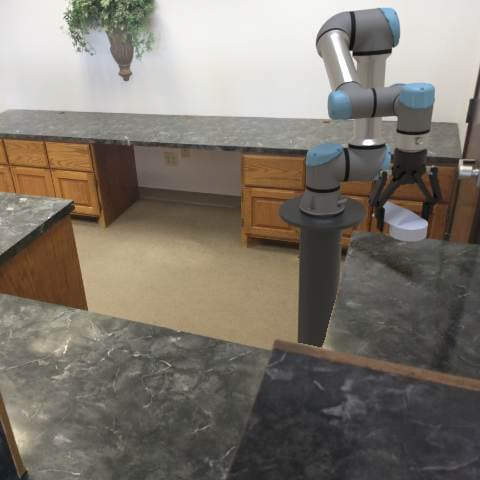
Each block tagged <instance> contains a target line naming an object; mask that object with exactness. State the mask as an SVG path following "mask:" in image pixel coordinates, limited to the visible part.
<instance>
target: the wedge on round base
mask: <svg viewBox="0 0 480 480" xmlns="http://www.w3.org/2000/svg"><path fill="white" fill-rule="evenodd" d="M383 207H384V208H385V215H384V223H386V224H389V228H388V235H389V236H390V237H392V238H393V239H395V240H398V241H403V242H419V241H422V240H424V239H426V238H427V233H428V227H429V221H428V222H427V221H426V220H425V219H423V218H421V216H419V215H418V214H416V213H415V212H413V211H412V210H410V209H407V208H405V207H402V206H400V205H398V204H396V203H394V202H390V201H387V202H386V203H385V205H384V206H383ZM371 216H372V217H374V213H372V215H371Z"/></svg>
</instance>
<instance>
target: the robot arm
mask: <svg viewBox="0 0 480 480" xmlns="http://www.w3.org/2000/svg"><path fill="white" fill-rule="evenodd" d="M400 22H401V21H400V19H399V15H398V13H397V11H396V10H395V9H394V8H393V7H376V8H375V7H374V8H365V9H357V10H350V11H348V10H347V11H341V12H338V13H335V14H334V15H332V16H331V17H330V18H328V19H327V20H326V21H325V22H324V23H323V24H322V25H321V27H320V28H319V30H318V32H317V34H316V38H315V49H316V52H317V54H318V56H319V57H320V59H322V60H323V64H324V68H325V72H326V74H327V78H328V81H329V85H330V88H331V92H329V94H328V97H327V115H328V117H329V119H330V120H332V121H349V120H353V136H352V137H351V138H350V139H349V140H348V141H347V146H346V147H344V146H343V145H342V144H341V143H339V142H324V143H320V144H316V145H314V146H312V147H310V148H309V149H308V151H307V153H306V157H305V190H304V192H303V197H302V200H301V203H300V211H301V212H302V213H303V214H305V215H307V216H310V217H315V218H330V217H335V216H338V215H340V214H342V213H343V212H344V208H345V204H344V202H346V201H347V198H346V199H343V198H342V196H343V195H342V191H341V183H347V182H350V183H351V182H366V181H367V182H371V181H376V182H375V184H374V186H373V189H372V191H371V194H370V196H369V198H368V200H367V204H368V205H369V206H370V207H371V208H374V213H373V214H374V216H373V217H374V218H375V220H376V229H377V230H378V231H379V232H380V233H381V232H384V224H385V222H384V215H385V208H384V207H383V206H384V205H385V203H386V202H387V201H388V200H390V198H391V197H392V196H393V194H394V193H395V192H396V191H397V189H399V188H400V187H401V186H405V185H416V186H417V188H418V189H419V191H420V192H421V194H422V195H423V197H424V199H425V201H422V207H421V213H420V214H421V215H420V217H421V218H423V219H425V220H426V221H427V222H428V223H429V218H430V216H432V215H433V213H434V207H435V206H436V205H437V203H438V202H439V203H441V202H442V201H443V200H444V199H443V195H442V194H443V193H442V190H441V187H440V182H439V177H438V174H439V168H438V167H437V166H436V165H434V164H429V165H428V166H427V165H426V163H427V158H428V149H427V148H428V147H429V141H430V133H431V125H432V119H433V113H434V104H435V102H436V97H435V96H436V87H435V85H434V84H432V83H430V82H429V83H427V82H410V83H403V82H397V83H392V84H391V85H389V86H385V83H386V82H385V81H386V65H387V60H388V58H389V57H390V56H391V55H392V54H393V49H394V48H396V47H398V45H399V44H400V39H401V23H400ZM353 59H354V60H355V62H356V66H355V63H354V60H353ZM387 117H388V118H389V117H396V119H397V120H396V127H395V128H396V130H395V139H394V147H395V148H394V149H393V156H392V150H391V147H390V146H389V145H388V144H386V142H387V141H386V139H385V138H384V137H382V127H383V118H387ZM392 157H393V159H392ZM391 160H392V167H391V168H390V166H391ZM425 173H426V174H427V175H428V180H429V183H430V188H431V192H432V193H431V192H430V191H429V189H428V187H427V185H426V184H425V181H424V180H423V178H422V177H423V176H424V174H425ZM390 176H392V178H391V179H390ZM388 179H390V180H389V183H388V184H387V181H388ZM386 184H387V186H386ZM385 186H386V187H385ZM388 202H389V201H388Z"/></svg>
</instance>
